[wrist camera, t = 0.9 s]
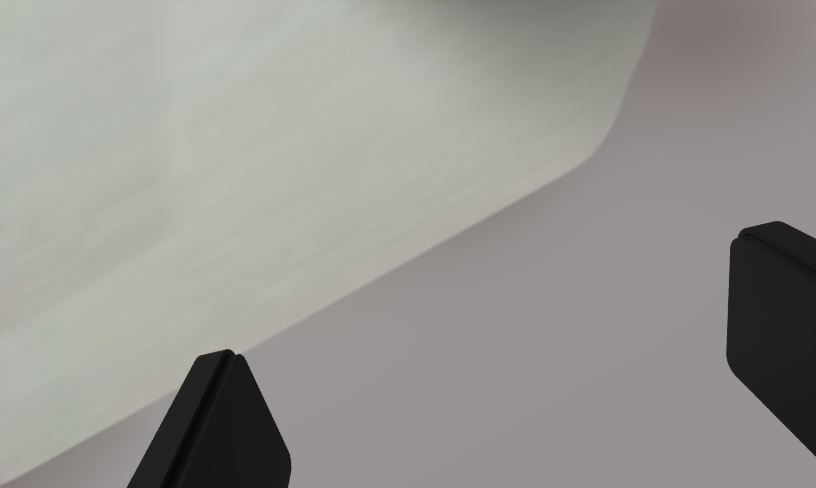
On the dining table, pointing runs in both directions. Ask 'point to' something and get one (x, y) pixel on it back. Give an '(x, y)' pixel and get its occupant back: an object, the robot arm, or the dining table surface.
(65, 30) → the dining table surface
